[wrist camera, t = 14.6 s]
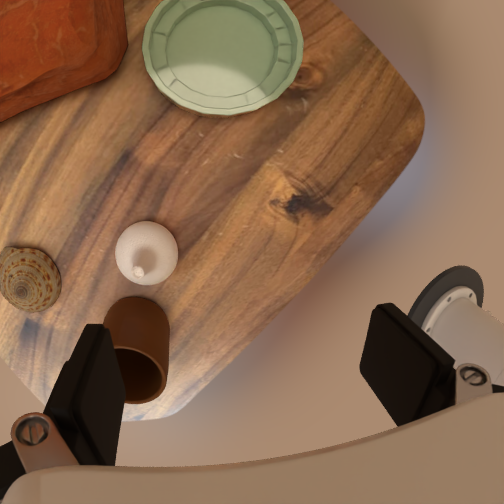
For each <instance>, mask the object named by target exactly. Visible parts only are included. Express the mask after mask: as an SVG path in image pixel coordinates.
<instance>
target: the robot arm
mask: <svg viewBox="0 0 504 504" xmlns="http://www.w3.org/2000/svg"><path fill="white" fill-rule="evenodd" d="M453 367H454V368H455V369H456V370H455V369H454V368H453ZM360 372H361V374H362V376H363V377H364V379H365V380H366V382H367V383H368V384H369V386H370V387H371V389H372V390H373V392H374V393H375V394H376V396H377V397H378V399H379V400H380V402H381V403H382V404H383V406H384V407H385V409H386V410H387V412H388V413H389V415H390V416H391V417H392V419H393V420H394V422H395V423H396V425H397V426H398V427H396V428H393V429H390V430H388V431H384V432H381V433H378V434H375V435H371V436H368V437H365V438H361V439H358V440H354V441H350V442H347V443H343V444H339V445H335V446H331V447H327V448H322V449H318V450H314V451H309V452H304V453H299V454H294V455H288V456H282V457H276V458H270V459H264V460H256V461H248V462H240V463H230V464H219V465H206V466H185V467H125V466H115V460H116V453H117V446H118V439H119V432H120V426H121V420H122V414H123V408H124V403H125V397H126V391H125V386H124V382H123V379H122V376H121V372H120V368H119V365H118V361H117V357H116V354H115V350H114V346H113V342H112V337H111V333H110V330H109V329H108V328H105V327H104V325H103V324H87V325H86V326H85V328H84V330H83V332H82V334H81V336H80V338H79V340H78V342H77V344H76V346H75V349H74V351H73V353H72V355H71V357H70V359H69V361H66V362H65V364H64V365H63V367H62V370H61V372H60V374H59V376H58V378H57V381H56V383H55V385H54V388H53V390H52V392H51V395H50V397H49V399H48V402H47V404H46V407H45V409H44V412H43V414H42V413H38V412H34V413H28V414H25V415H23V416H21V417H19V418H18V419H17V420H16V421H15V422H14V424H13V426H12V429H11V438H12V441H10V442H8V443H6V444H4V445H2V446H0V504H504V324H503V323H501V322H500V321H499V320H497V319H495V318H494V317H493V316H491V312H490V311H485V310H483V309H482V308H480V307H479V306H477V299H476V295H475V293H474V292H473V291H472V290H471V289H470V288H468V287H466V286H457V287H454V288H452V289H450V290H449V291H447V292H446V293H445V294H443V295H442V296H441V297H440V298H439V299H438V300H437V301H436V303H435V304H434V305H433V307H432V308H431V309H430V311H429V313H428V314H427V316H426V318H425V320H424V322H423V325H422V328H420V327H419V326H418V325H417V324H416V323H415V322H413V321H412V320H411V319H410V318H409V317H408V316H407V315H406V314H404V313H403V312H402V311H401V310H400V309H399V308H398V307H396V306H395V305H394V304H393V303H385V304H379V305H377V306H376V308H375V309H373V311H372V314H371V318H370V323H369V328H368V332H367V337H366V341H365V345H364V350H363V353H362V357H361V362H360Z"/></svg>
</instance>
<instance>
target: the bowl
mask: <svg viewBox="0 0 504 504" xmlns="http://www.w3.org/2000/svg"><path fill="white" fill-rule="evenodd" d="M303 43H304V41H303V37H302V33H301V29H300V26H299V22H298V20H297V18H296V17H295V15H294V14H293V12H292V11H291V10H290V8H289V7H288V5H287V4H286V3H285V2H284V1H283V0H163V1H162V2H161V3H160V4H159V5H158V6H157V7H156V8H155V10H154V12H153V13H152V15H151V17H150V19H149V20H148V22H147V24H146V26H145V31H144V36H143V42H142V52H143V57H144V62H145V66H146V70H147V72H148V74H149V75H150V77H151V79H152V80H153V82H154V83H155V85H156V86H157V88H158V89H159V91H160V93H161V94H162V95H163V96H164V97H165V98H167V99H168V100H169V101H170V102H172V103H173V104H174V105H176V106H177V107H178V108H180V109H182V110H184V111H187V112H190V113H193V114H195V115H198V116H201V117H211V118H230V117H235V116H239V115H244V114H248V113H251V112H253V111H255V110H257V109H259V108H260V107H262V106H264V105H266V104H268V103H270V102H271V101H273V100H275V99H277V98H278V97H279V96H280V95H281V94H282V93H283V92H284V91H285V90H286V89H287V88H288V86H289V85H290V84H291V83H292V82H293V81H294V79H295V76H296V74H297V72H298V70H299V68H300V65H301V63H302V57H303Z"/></svg>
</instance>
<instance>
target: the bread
mask: <svg viewBox="0 0 504 504" xmlns="http://www.w3.org/2000/svg"><path fill="white" fill-rule="evenodd" d="M127 46H128V41H127V33H126V24H125V15H124V5H123V0H0V122H2V121H4V120H6V119H8V118H10V117H12V116H14V115H16V114H18V113H20V112H22V111H24V110H27V109H29V108H31V107H34V106H36V105H39V104H41V103H44V102H46V101H49V100H52V99H54V98H57V97H59V96H62V95H64V94H67V93H69V92H71V91H74V90H77V89H79V88H82V87H84V86H87V85H90V84H92V83H95V82H98V81H101V80H104V79H106V78H107V77H108V76H109V75H110V74H112V73H113V72H114V71H115V70H116V69H117V67H118V66H119V65H120V63H121V60H122V58H123V55H124V53H125V51H126V48H127Z"/></svg>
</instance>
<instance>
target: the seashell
mask: <svg viewBox="0 0 504 504" xmlns="http://www.w3.org/2000/svg"><path fill="white" fill-rule="evenodd" d="M60 290H61V279H60V275H59V272H58V270H57V268H56V266H55V265H54V263H53V262H52V260H51V259H50V258H49V257H48V256H47V255H46V254H44V253H43V252H41V251H39V250H37V249H30V248H21V249H16V248H13V247H5V248H4V249H3V250H2V252H1V254H0V291H1V293H2V294H3V296H4V297H5V299H6V300H8V302H9V303H11V304H12V305H13V306H14V307H16V308H18V309H20V310H22V311H26V312H40V311H43V310H45V309H47V308H49V307H50V306H52V305H53V304H54V303H55V301H56V300H57V298H58V297H59V294H60Z"/></svg>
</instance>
